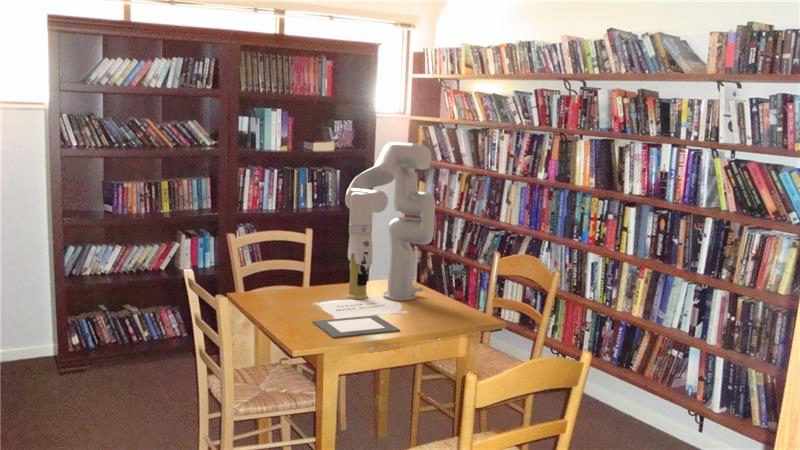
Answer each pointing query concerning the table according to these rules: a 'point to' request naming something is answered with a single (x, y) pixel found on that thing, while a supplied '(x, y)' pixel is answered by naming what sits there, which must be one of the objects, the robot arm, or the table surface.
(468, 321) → the table surface
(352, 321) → the grey picture frame
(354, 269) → the vase
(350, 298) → the hand bell
